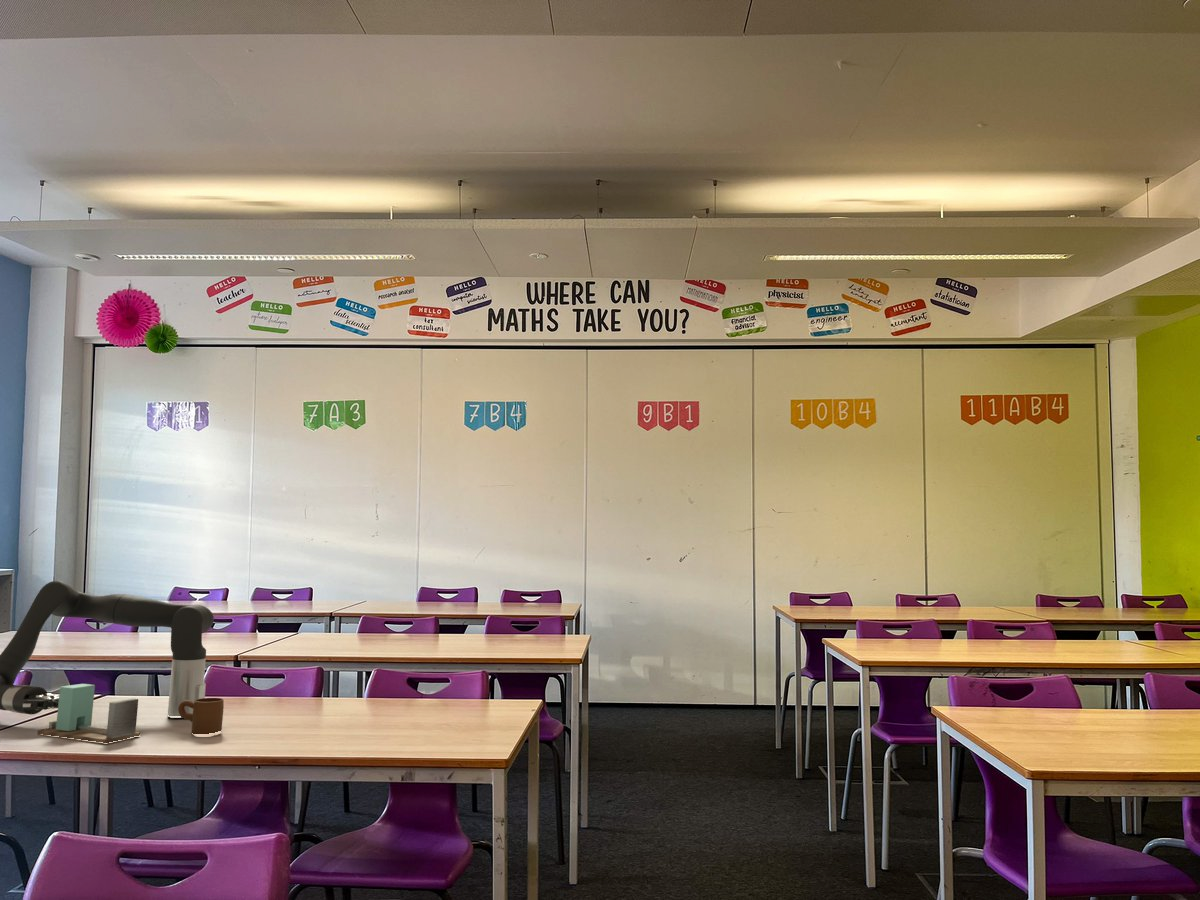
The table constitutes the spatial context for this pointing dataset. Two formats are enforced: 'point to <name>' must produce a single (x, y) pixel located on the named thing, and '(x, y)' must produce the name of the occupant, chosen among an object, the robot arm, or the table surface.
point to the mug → (204, 714)
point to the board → (83, 735)
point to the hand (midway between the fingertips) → (67, 704)
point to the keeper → (75, 706)
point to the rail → (114, 720)
